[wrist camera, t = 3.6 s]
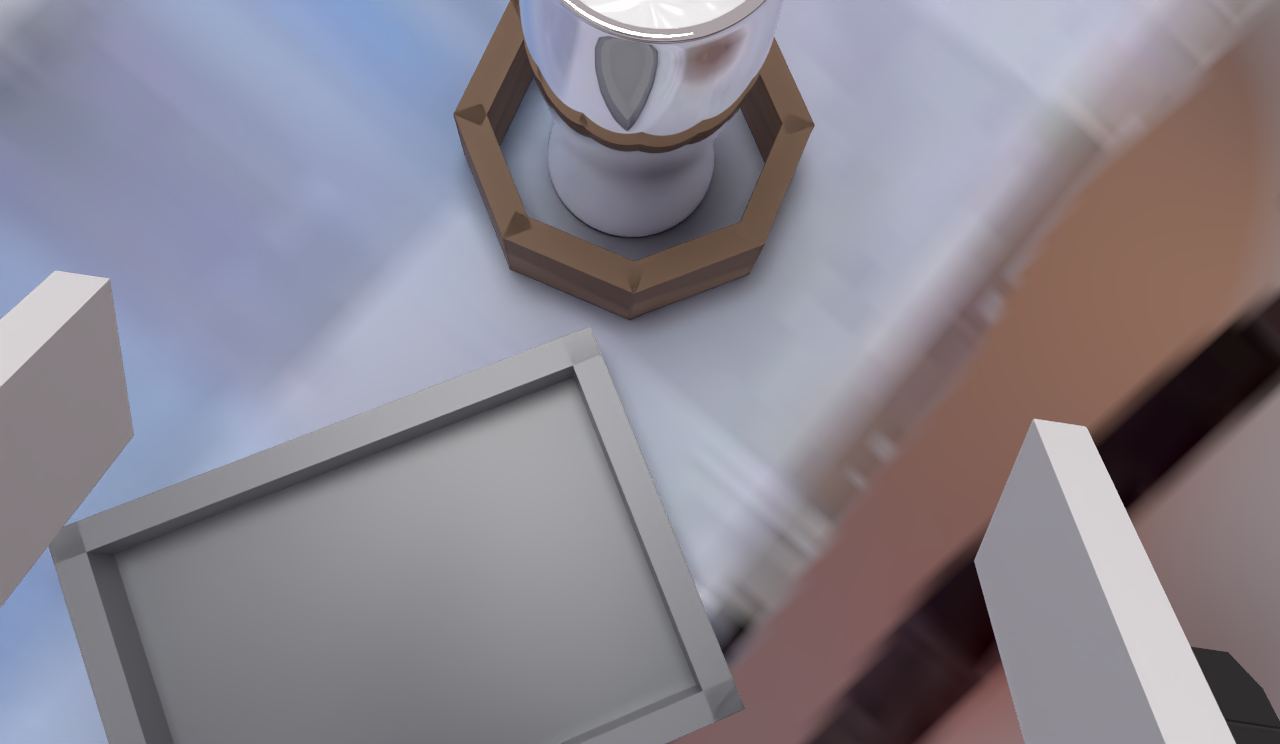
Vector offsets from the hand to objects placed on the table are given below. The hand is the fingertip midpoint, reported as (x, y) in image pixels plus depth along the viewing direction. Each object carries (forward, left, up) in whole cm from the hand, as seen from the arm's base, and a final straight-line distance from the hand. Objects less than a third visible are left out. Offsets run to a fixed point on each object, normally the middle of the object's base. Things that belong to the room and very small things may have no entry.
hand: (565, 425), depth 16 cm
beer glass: (+7, +11, -22) cm, 26 cm away
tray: (-6, -1, -22) cm, 23 cm away
